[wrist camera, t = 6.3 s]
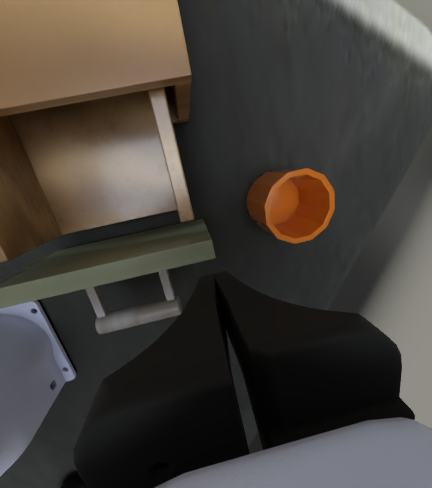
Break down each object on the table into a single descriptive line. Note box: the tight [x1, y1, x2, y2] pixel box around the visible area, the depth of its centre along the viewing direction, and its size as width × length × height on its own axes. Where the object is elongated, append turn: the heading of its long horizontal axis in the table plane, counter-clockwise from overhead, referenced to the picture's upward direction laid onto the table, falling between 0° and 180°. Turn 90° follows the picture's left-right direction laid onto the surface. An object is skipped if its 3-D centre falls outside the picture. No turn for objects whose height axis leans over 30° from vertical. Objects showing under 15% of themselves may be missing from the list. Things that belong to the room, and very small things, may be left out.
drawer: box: [0, 87, 216, 334], centre depth 14 cm, size 19×12×7 cm, turn 11°
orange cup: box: [247, 168, 335, 244], centre depth 18 cm, size 5×5×5 cm
